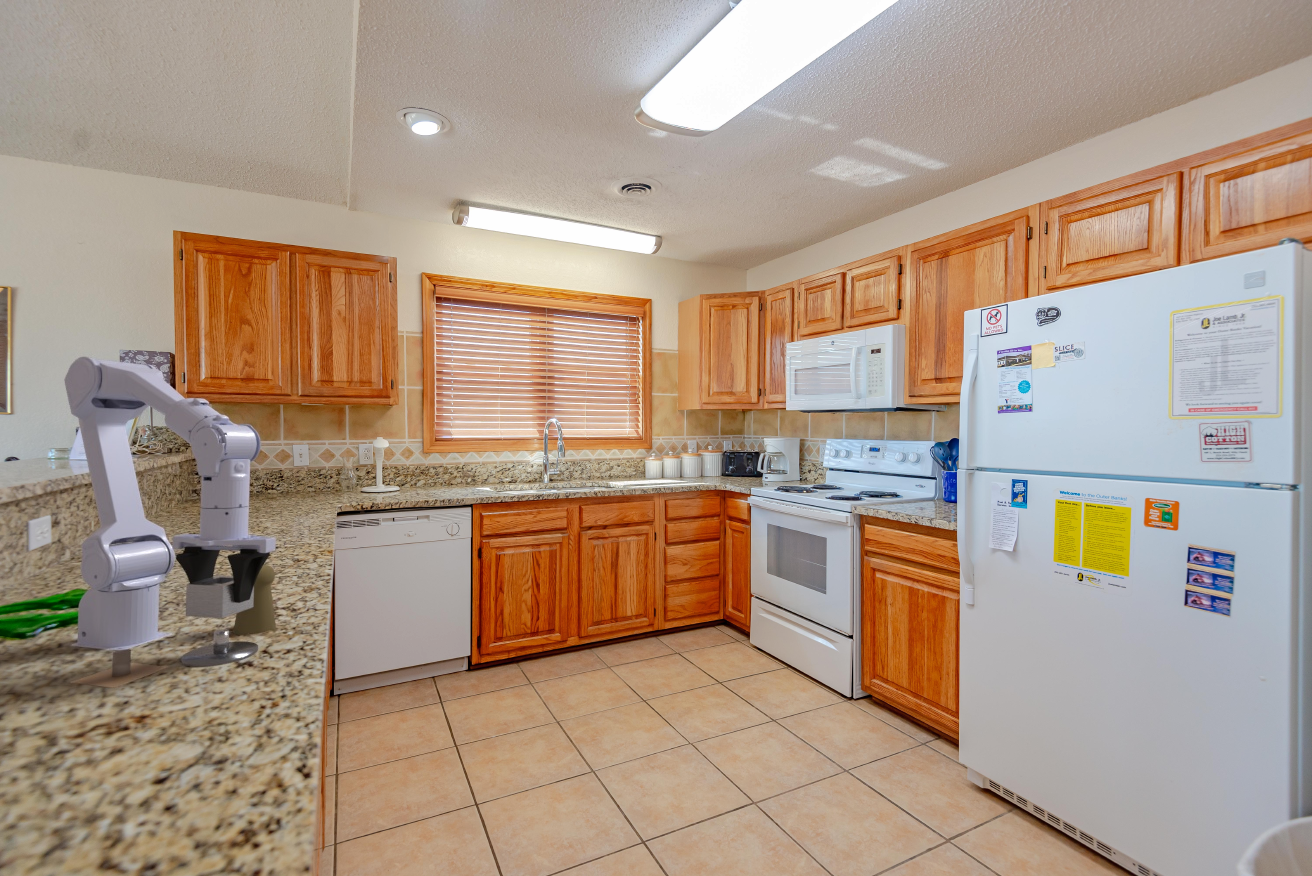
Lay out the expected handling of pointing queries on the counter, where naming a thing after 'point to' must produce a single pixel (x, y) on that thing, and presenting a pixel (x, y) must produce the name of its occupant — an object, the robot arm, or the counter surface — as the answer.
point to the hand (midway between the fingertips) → (222, 600)
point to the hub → (219, 651)
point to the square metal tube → (214, 598)
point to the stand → (120, 671)
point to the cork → (258, 607)
